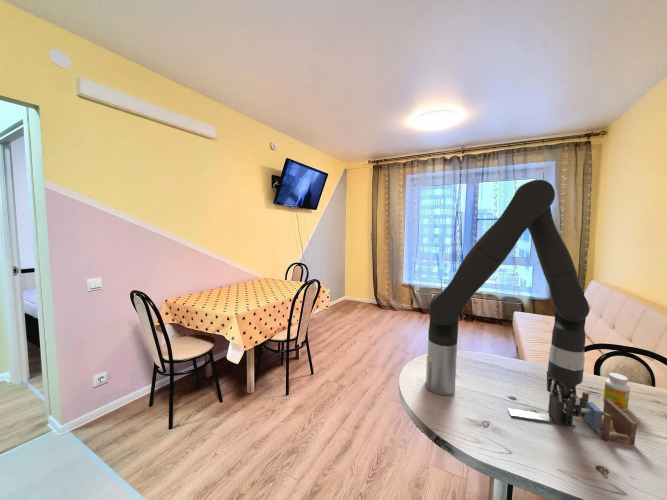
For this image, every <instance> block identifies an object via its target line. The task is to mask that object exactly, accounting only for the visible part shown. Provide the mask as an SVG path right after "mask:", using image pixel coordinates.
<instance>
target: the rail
mask: <svg viewBox="0 0 667 500" xmlns="http://www.w3.org/2000/svg"><path fill="white" fill-rule="evenodd" d="M507 412H508V414H509V416H510V418H515V419H522V420H526V421H527V420H528V421H534V422H541V423H547V424H551V425H559V426H565V427H568V426H567V425H563V424H562V423H557V422H555V421H554V420H553V419H552V417H551V416H550V414H549V413H548V414H547V413H540V412H534V411H527V410H522V409H513V408H507ZM576 425H577V424H575V422H574V421H573V420H572V425H571V426H569V427H572V428H576V427H577V426H576Z"/></svg>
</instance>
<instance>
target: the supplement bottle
mask: <svg viewBox="0 0 667 500" xmlns="http://www.w3.org/2000/svg"><path fill="white" fill-rule="evenodd" d="M628 379H629V378H628V377H627V376H625V375H623V374H621V373H617V372H609V374H608V378H606V379H605V381H604V390H603V396H602V402H604V401H605V399H609V400H611V401H612V402H613V403H614V404H615V405H616V406H617V407H618V408H620V409H621V410H622V411H627V410H628V407H629V399H630V392H631V388H630V386H629V385H628Z"/></svg>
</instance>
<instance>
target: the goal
mask: <svg viewBox="0 0 667 500" xmlns="http://www.w3.org/2000/svg"><path fill="white" fill-rule="evenodd" d="M581 393H582V394H581V398H582V399H583V401H584V402H583V406H582V408H584V409H585V407H586V401H587V402H589V397H590V394H589V393H588V392H584V391H582V392H581ZM601 411H602V412H603V413H602V415H603V416H604V417H603V425H602V428H601V435H600V439H601V440H603V441H604V442H611V443H618V444H625V445H631V446H635V444H636V443H635V442H636V435H637V427H638V423H637V422H636V421H634V419H632V418H631V417H630V416H629V415H628V414H626V413H625V412H624V410H621V409H620V408H618V407H617V406H616V405H615V404H614V403H613V402H612V401H611V400H609V399H605V401H603V410H601ZM580 416H581V417H583V418H584V416H585V412H580ZM611 420H612V422H613V424H614V427H613V430H615V432H614V431H611V430H610V424H611Z"/></svg>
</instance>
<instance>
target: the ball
mask: <svg viewBox="0 0 667 500" xmlns="http://www.w3.org/2000/svg"><path fill="white" fill-rule="evenodd" d="M603 417H604V416H603V415H602V421H601V429H602V425H603ZM613 427H614V424H613V422H612V420H611V424H610V431H612V430H614V428H613Z"/></svg>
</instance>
